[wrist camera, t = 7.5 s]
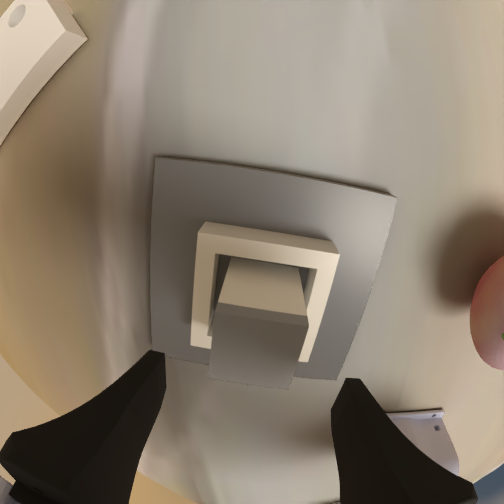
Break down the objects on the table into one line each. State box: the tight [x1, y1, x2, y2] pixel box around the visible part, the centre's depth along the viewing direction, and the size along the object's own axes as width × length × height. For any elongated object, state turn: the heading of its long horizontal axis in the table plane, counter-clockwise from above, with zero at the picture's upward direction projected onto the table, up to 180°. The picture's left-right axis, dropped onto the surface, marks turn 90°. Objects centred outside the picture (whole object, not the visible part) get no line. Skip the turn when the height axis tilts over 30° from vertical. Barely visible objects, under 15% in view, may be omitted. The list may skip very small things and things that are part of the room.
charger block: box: [208, 257, 309, 390], centre depth 16 cm, size 4×4×6 cm
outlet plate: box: [150, 157, 397, 380], centre depth 19 cm, size 14×14×3 cm
